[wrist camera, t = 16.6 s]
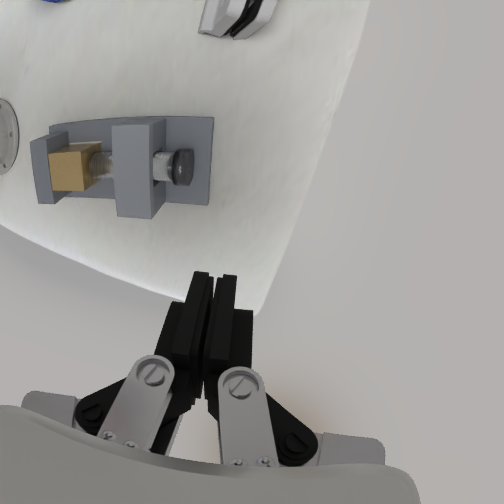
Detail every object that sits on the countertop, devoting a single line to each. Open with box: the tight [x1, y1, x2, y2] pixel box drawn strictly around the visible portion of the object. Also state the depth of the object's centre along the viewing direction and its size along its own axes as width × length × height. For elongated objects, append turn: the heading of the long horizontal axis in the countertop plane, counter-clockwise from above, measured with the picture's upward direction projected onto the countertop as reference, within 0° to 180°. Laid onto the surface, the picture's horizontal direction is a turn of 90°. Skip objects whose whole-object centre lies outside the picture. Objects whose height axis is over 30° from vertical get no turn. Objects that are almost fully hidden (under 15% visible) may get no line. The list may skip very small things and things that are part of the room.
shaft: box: [88, 149, 194, 186], centre depth 27 cm, size 11×4×4 cm, turn 84°
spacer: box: [48, 142, 102, 191], centre depth 26 cm, size 5×4×4 cm
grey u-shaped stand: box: [30, 116, 214, 219], centre depth 27 cm, size 22×10×6 cm, turn 84°
